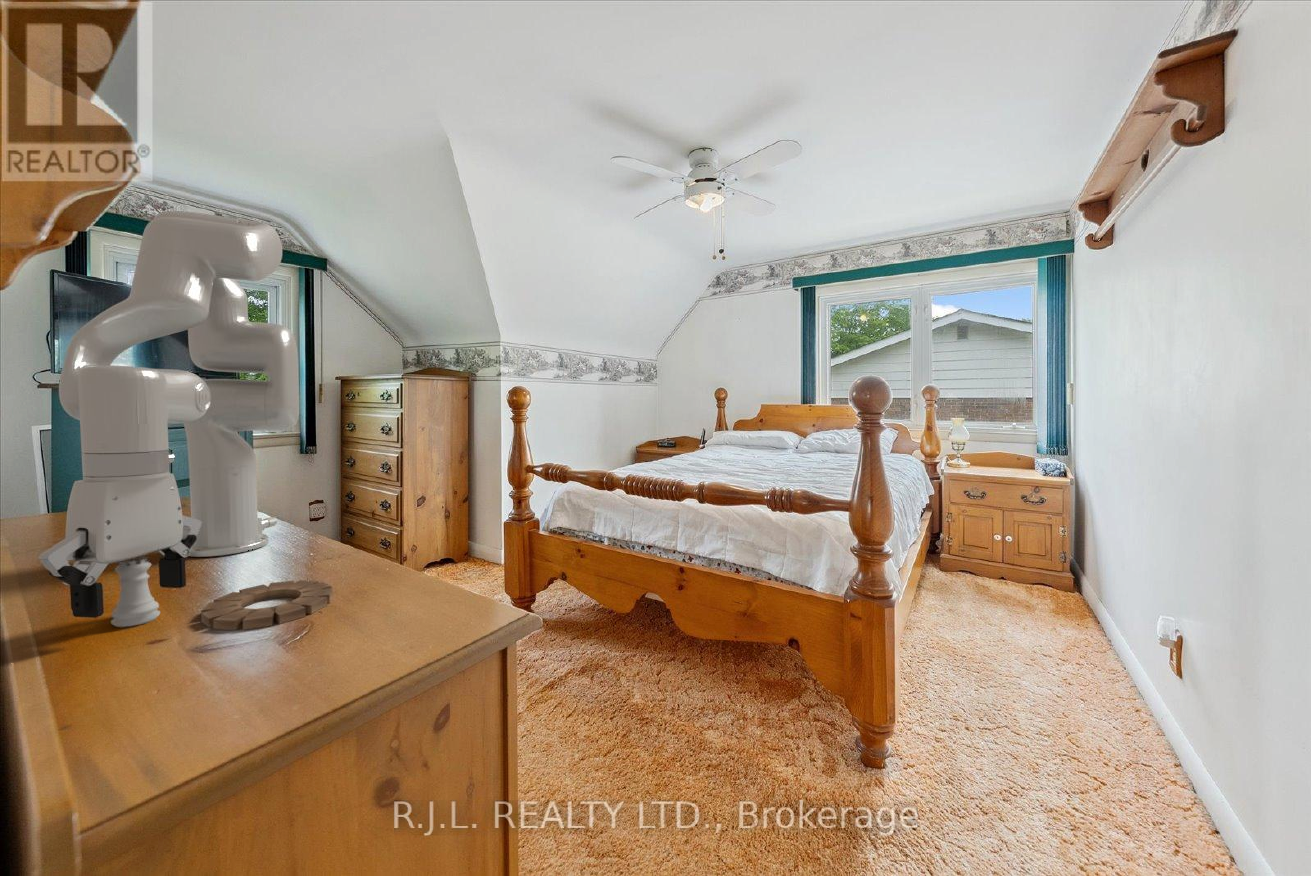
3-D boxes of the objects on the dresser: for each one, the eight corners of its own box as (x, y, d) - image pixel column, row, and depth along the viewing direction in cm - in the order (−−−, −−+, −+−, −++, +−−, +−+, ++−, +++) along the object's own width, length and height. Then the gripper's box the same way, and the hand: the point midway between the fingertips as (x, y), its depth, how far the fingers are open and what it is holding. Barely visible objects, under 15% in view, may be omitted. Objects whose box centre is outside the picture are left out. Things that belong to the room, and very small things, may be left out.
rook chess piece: (128, 630, 62) (125, 566, 62) (100, 626, 63) (97, 563, 62) (170, 615, 66) (167, 555, 66) (143, 612, 67) (140, 552, 67)
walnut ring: (266, 586, 77) (265, 578, 77) (353, 590, 76) (353, 582, 76) (172, 626, 63) (171, 617, 63) (277, 632, 62) (277, 623, 62)
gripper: (170, 458, 72) (175, 576, 73) (7, 474, 55) (16, 628, 56) (220, 459, 72) (224, 579, 73) (70, 476, 54) (78, 632, 55)
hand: (133, 600), depth 64 cm, fingers open, 9 cm apart
